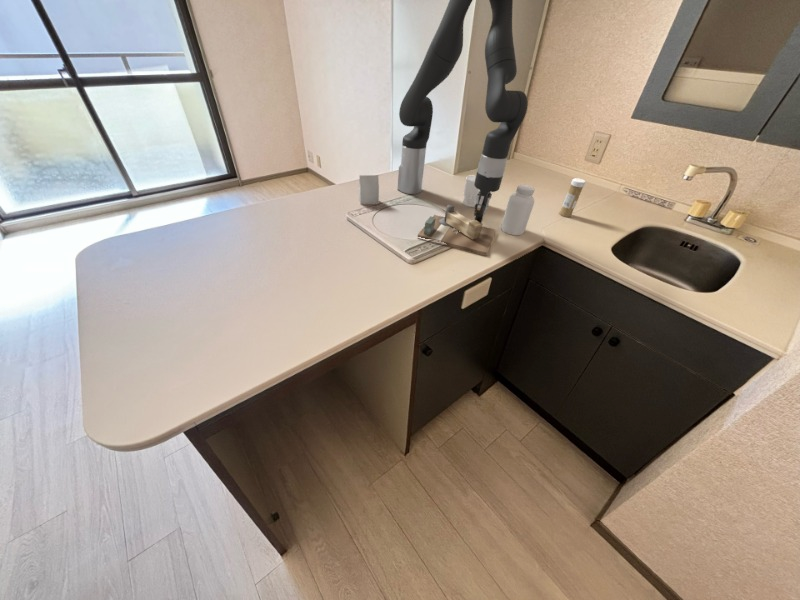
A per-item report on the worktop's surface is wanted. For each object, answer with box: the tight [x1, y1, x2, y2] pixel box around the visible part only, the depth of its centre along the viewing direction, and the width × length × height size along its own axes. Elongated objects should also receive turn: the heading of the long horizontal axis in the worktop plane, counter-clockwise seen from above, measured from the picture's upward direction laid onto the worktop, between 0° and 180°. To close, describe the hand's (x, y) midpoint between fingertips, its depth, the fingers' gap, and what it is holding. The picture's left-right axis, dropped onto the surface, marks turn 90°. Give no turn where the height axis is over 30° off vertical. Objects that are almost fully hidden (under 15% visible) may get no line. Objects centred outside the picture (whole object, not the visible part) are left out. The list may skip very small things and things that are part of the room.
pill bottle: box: [500, 184, 535, 236], centre depth 107 cm, size 8×8×15 cm
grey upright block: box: [358, 174, 380, 205], centre depth 119 cm, size 4×7×10 cm, turn 103°
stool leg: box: [444, 204, 484, 239], centre depth 105 cm, size 15×3×5 cm, turn 34°
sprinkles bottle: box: [558, 177, 586, 218], centre depth 122 cm, size 5×5×13 cm
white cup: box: [462, 174, 480, 208], centre depth 125 cm, size 8×8×10 cm
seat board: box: [417, 214, 497, 257], centre depth 105 cm, size 22×17×5 cm
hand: (476, 225), depth 105 cm, fingers closed
